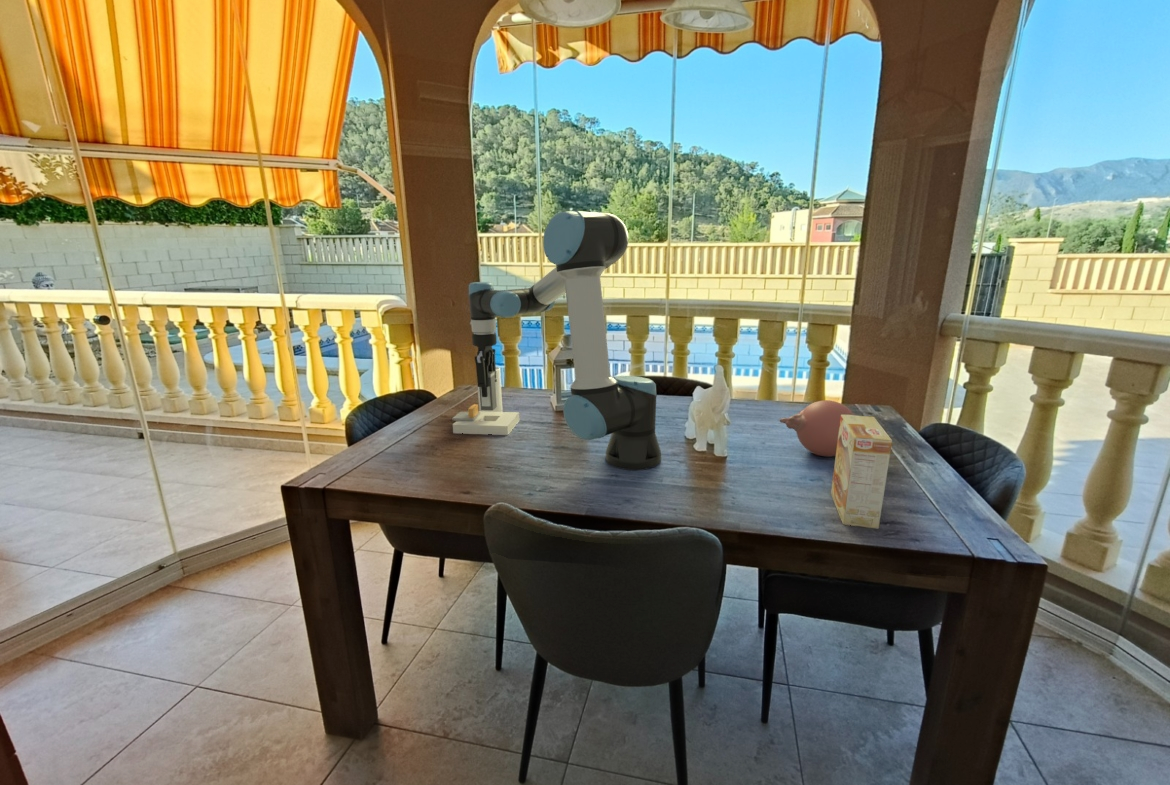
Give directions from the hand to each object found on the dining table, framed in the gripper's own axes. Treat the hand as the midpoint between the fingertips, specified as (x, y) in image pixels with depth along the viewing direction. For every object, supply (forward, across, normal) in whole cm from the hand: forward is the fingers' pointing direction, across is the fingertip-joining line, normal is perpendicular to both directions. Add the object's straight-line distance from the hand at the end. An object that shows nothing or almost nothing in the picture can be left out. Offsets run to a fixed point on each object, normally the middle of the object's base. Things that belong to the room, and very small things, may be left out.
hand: (488, 403), depth 164 cm
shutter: (+5, 0, -8) cm, 9 cm away
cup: (+8, -16, -5) cm, 19 cm away
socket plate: (+8, 0, -1) cm, 8 cm away
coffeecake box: (+8, +45, +97) cm, 107 cm away
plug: (+2, 0, 0) cm, 2 cm away
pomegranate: (+8, +13, +98) cm, 99 cm away
